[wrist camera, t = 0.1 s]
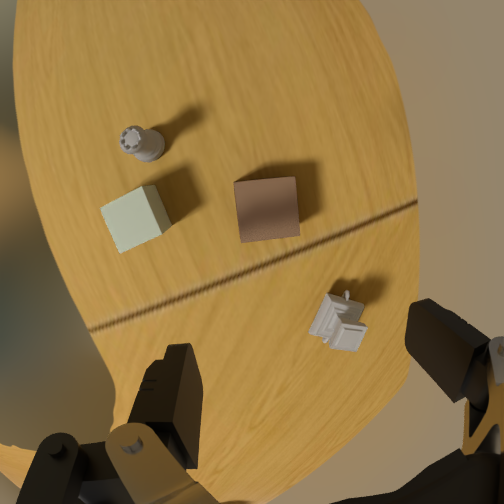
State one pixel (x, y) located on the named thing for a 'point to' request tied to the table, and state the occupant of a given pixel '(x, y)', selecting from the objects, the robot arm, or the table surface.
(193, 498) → the robot arm
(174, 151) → the table surface
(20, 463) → the table surface
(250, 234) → the walnut block
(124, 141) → the rook chess piece
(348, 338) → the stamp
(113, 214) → the sage block
